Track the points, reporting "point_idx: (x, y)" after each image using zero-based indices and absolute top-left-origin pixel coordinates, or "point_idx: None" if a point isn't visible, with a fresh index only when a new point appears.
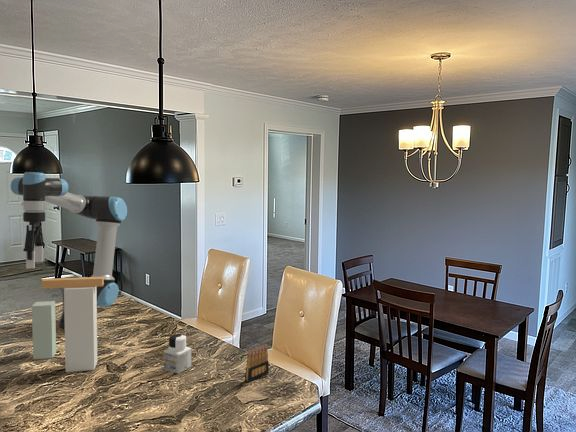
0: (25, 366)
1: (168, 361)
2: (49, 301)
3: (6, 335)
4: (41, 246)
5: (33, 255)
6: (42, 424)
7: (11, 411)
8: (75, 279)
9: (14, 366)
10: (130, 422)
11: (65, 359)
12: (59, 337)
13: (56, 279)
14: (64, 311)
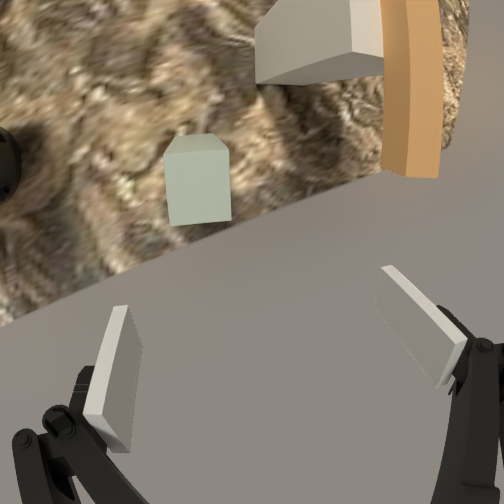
0: (252, 178)
1: None
2: (167, 175)
3: (66, 292)
4: (105, 417)
5: (443, 320)
6: (454, 104)
7: None
8: (439, 18)
9: (247, 202)
10: (462, 10)
11: (314, 83)
12: (72, 167)
13: (430, 107)
14: (382, 74)
